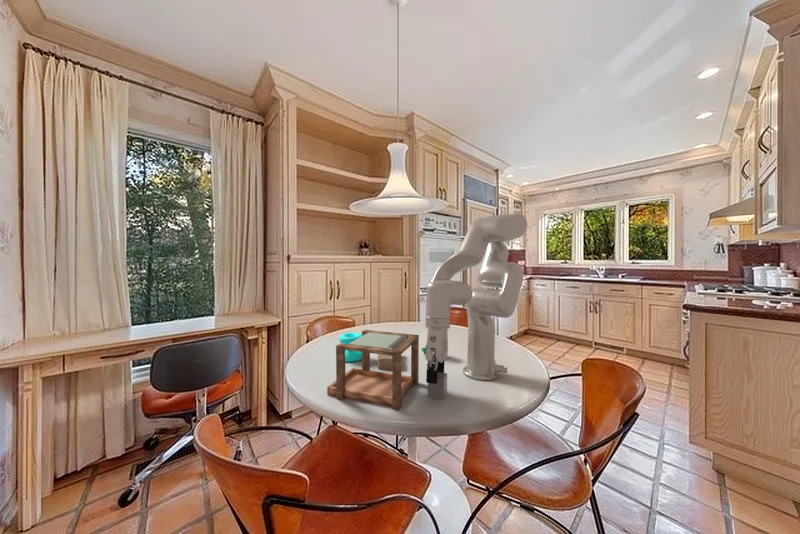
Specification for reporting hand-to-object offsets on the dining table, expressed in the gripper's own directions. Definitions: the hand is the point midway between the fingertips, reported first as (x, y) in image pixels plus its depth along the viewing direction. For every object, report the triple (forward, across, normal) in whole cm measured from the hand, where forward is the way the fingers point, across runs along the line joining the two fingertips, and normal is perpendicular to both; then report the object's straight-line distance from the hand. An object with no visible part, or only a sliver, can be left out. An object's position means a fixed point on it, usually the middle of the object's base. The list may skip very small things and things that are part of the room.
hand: (435, 377), depth 97 cm
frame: (+6, -2, +20) cm, 21 cm away
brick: (+6, +23, +25) cm, 34 cm away
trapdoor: (-9, -2, +18) cm, 21 cm away
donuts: (+6, +21, +40) cm, 46 cm away
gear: (+5, +35, +8) cm, 36 cm away
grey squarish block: (+6, +1, -1) cm, 6 cm away
